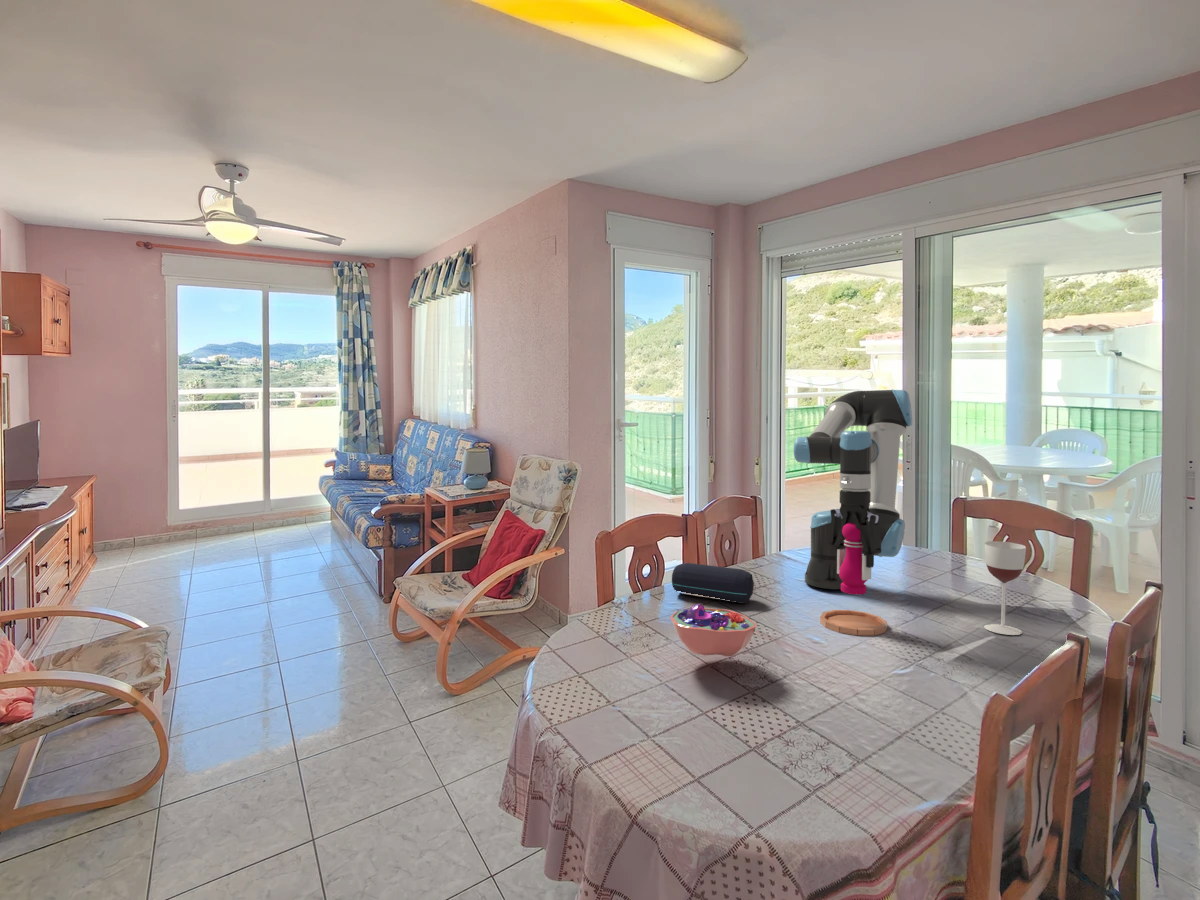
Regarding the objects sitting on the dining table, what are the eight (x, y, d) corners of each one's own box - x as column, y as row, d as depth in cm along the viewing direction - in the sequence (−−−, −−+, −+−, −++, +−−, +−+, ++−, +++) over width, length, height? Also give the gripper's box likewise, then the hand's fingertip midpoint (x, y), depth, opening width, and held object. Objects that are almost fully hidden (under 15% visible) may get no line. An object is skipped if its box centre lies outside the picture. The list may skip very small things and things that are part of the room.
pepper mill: (871, 595, 159) (872, 518, 158) (841, 594, 160) (842, 517, 159) (864, 588, 166) (866, 514, 165) (836, 587, 167) (837, 513, 166)
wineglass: (1016, 625, 163) (1019, 542, 161) (1028, 637, 153) (1031, 549, 152) (978, 621, 165) (980, 540, 164) (988, 633, 156) (990, 547, 155)
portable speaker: (758, 600, 187) (758, 567, 186) (748, 609, 178) (748, 575, 178) (681, 589, 199) (681, 558, 199) (668, 596, 191) (668, 565, 190)
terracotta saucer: (808, 621, 167) (808, 615, 167) (847, 611, 175) (847, 606, 174) (859, 639, 153) (859, 633, 153) (899, 628, 161) (899, 622, 161)
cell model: (741, 675, 132) (741, 623, 131) (657, 657, 143) (657, 608, 142) (765, 650, 146) (765, 603, 146) (687, 635, 157) (687, 591, 156)
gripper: (814, 487, 169) (813, 570, 170) (879, 494, 151) (878, 586, 152) (833, 485, 172) (832, 566, 173) (898, 492, 155) (897, 582, 156)
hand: (853, 576), depth 163 cm, fingers closed on pepper mill, 7 cm apart
